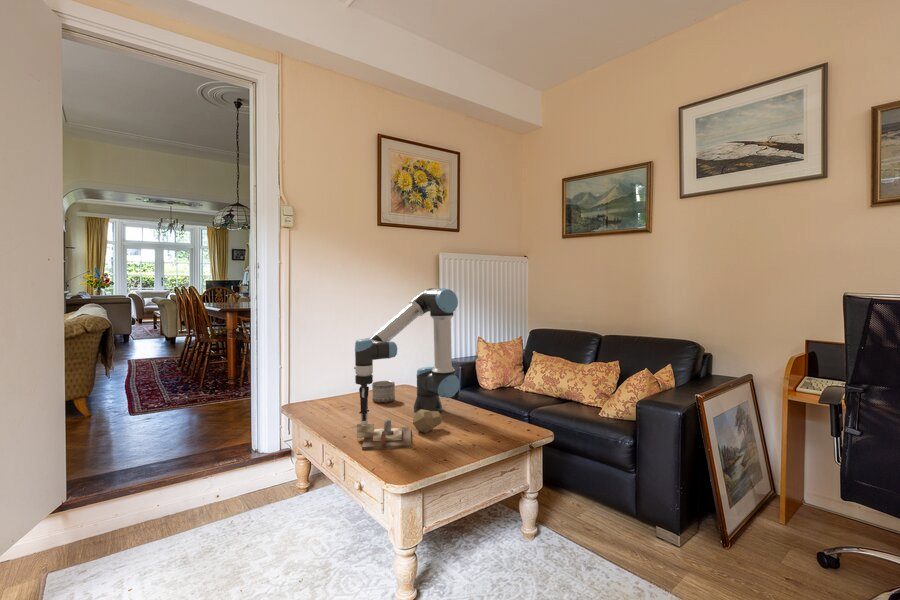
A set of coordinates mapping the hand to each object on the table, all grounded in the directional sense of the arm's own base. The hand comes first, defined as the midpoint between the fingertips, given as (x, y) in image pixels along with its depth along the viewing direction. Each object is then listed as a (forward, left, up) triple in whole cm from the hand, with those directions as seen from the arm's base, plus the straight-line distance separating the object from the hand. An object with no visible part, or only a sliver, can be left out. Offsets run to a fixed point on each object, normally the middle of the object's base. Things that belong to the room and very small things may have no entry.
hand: (364, 427), depth 194 cm
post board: (-10, +6, -4) cm, 13 cm away
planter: (-6, -56, -4) cm, 57 cm away
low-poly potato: (-28, -3, -4) cm, 29 cm away
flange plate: (-7, +6, -2) cm, 9 cm away
